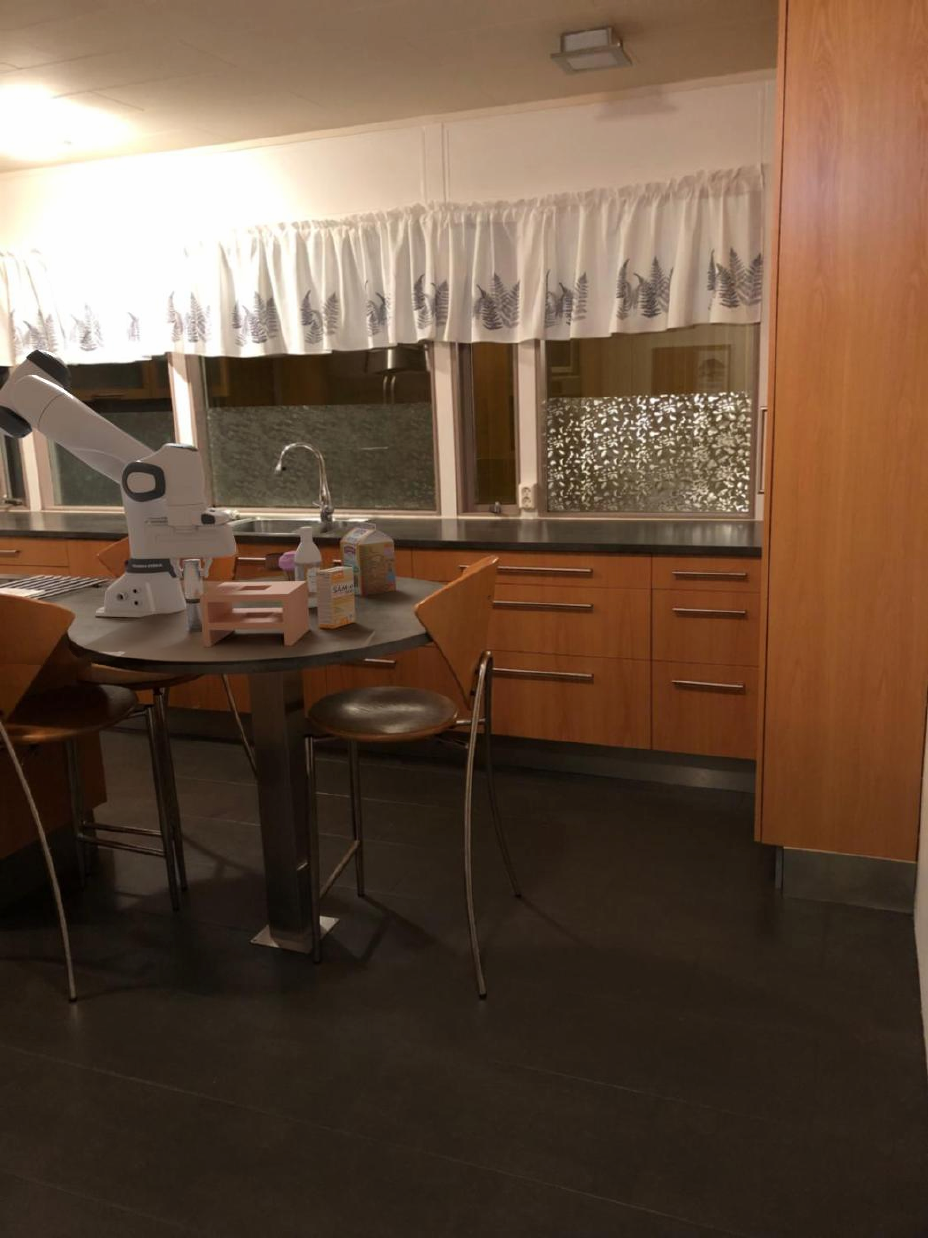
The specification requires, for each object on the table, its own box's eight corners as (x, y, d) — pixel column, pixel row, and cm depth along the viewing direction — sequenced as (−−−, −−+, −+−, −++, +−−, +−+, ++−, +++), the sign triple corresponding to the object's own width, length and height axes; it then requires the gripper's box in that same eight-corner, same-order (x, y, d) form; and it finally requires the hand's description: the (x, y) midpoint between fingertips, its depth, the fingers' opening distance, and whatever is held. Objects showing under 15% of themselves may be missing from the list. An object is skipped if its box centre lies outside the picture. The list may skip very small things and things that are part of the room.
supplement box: (334, 629, 221) (330, 571, 218) (317, 627, 223) (314, 570, 221) (357, 622, 228) (353, 566, 225) (340, 620, 230) (337, 565, 228)
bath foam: (304, 609, 245) (298, 529, 241) (292, 605, 251) (287, 527, 247) (329, 605, 249) (324, 527, 245) (317, 602, 255) (312, 524, 251)
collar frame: (203, 646, 208) (199, 595, 206) (228, 630, 224) (224, 582, 222) (291, 645, 207) (288, 593, 204) (309, 628, 222) (306, 580, 220)
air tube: (185, 631, 224) (178, 562, 220) (191, 627, 228) (185, 559, 224) (203, 631, 223) (197, 561, 220) (209, 627, 227) (203, 558, 224)
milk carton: (396, 593, 264) (392, 522, 260) (361, 598, 258) (357, 525, 255) (376, 588, 273) (373, 519, 269) (343, 592, 267) (338, 523, 263)
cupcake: (276, 587, 279) (273, 552, 277) (286, 582, 287) (284, 548, 285) (306, 587, 277) (304, 552, 275) (315, 582, 286) (313, 548, 284)
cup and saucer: (279, 569, 313) (278, 550, 312) (306, 572, 306) (304, 552, 305) (250, 575, 304) (249, 555, 303) (277, 578, 297) (275, 557, 296)
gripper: (136, 519, 218) (142, 580, 221) (226, 516, 216) (231, 578, 219) (148, 516, 224) (153, 576, 227) (235, 513, 222) (240, 574, 225)
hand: (192, 577), depth 223 cm, fingers closed on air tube, 4 cm apart
